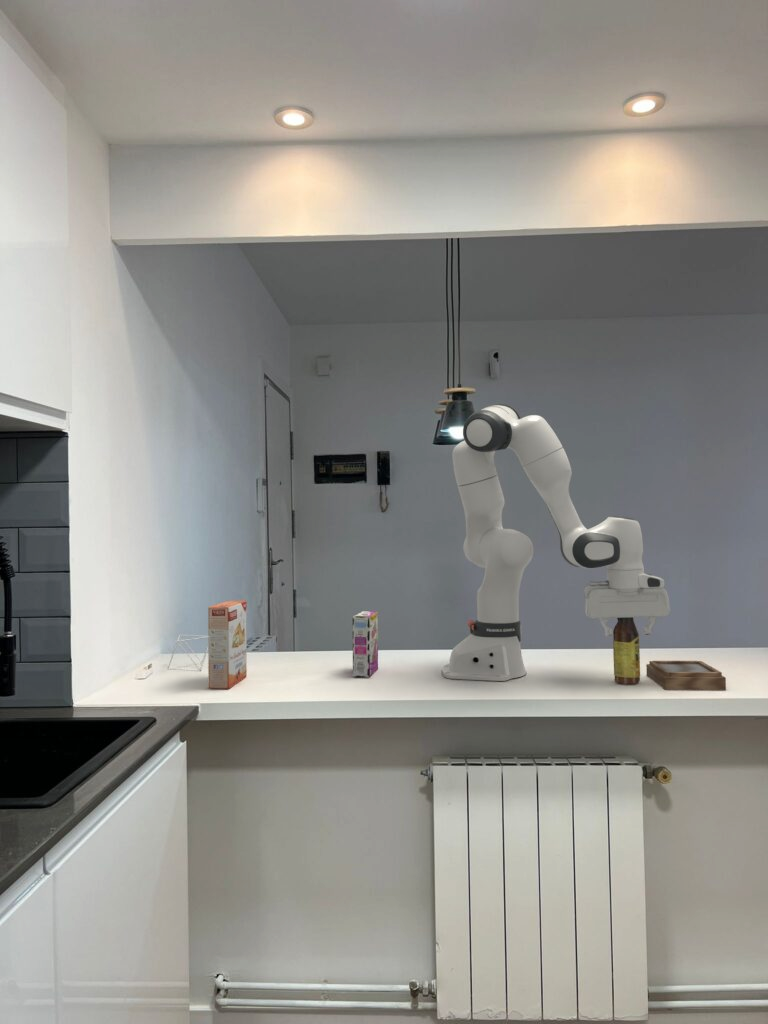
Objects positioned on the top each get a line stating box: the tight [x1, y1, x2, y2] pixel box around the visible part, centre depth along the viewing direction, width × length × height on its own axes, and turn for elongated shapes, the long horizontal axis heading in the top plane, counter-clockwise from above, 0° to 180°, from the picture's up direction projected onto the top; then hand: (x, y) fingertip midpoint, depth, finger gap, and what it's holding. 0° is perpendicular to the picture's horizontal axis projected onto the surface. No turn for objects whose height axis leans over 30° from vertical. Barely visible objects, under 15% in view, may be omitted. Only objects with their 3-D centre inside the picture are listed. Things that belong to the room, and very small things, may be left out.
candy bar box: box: [352, 610, 379, 679], centre depth 188 cm, size 11×5×16 cm, turn 168°
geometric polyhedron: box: [167, 634, 208, 672], centre depth 199 cm, size 12×11×9 cm
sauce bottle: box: [612, 617, 641, 686], centre depth 173 cm, size 7×6×20 cm
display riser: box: [645, 660, 727, 691], centre depth 172 cm, size 14×15×4 cm
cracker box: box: [207, 600, 248, 690], centre depth 180 cm, size 14×6×21 cm, turn 173°
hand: (628, 635), depth 173 cm, fingers open, 8 cm apart
